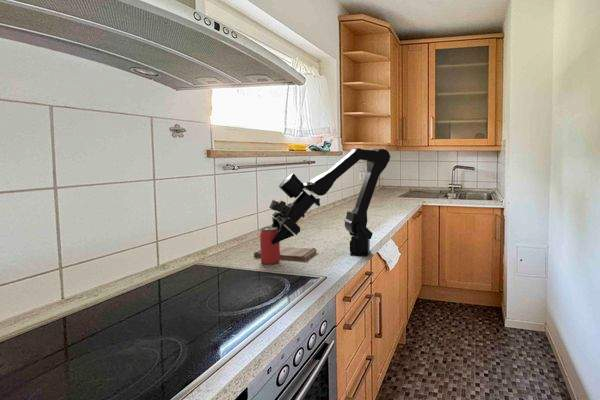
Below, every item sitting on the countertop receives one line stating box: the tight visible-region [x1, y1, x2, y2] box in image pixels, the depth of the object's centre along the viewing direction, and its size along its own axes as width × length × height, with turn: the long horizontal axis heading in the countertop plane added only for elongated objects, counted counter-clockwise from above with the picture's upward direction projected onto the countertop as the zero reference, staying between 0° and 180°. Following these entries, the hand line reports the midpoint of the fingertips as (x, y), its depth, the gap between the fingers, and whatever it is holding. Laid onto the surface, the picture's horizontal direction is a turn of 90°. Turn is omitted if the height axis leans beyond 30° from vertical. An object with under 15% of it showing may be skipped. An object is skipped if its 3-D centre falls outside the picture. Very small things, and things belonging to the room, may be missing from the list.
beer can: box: [259, 226, 281, 265], centre depth 145 cm, size 7×7×12 cm
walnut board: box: [253, 246, 318, 262], centre depth 155 cm, size 20×12×2 cm, turn 69°
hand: (269, 240), depth 145 cm, fingers open, 9 cm apart
